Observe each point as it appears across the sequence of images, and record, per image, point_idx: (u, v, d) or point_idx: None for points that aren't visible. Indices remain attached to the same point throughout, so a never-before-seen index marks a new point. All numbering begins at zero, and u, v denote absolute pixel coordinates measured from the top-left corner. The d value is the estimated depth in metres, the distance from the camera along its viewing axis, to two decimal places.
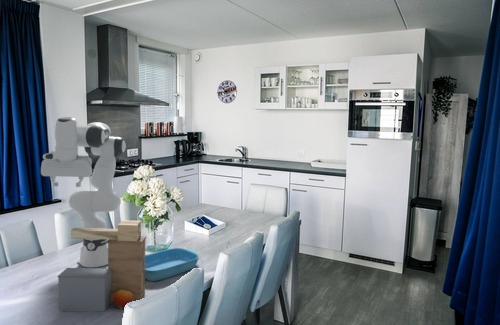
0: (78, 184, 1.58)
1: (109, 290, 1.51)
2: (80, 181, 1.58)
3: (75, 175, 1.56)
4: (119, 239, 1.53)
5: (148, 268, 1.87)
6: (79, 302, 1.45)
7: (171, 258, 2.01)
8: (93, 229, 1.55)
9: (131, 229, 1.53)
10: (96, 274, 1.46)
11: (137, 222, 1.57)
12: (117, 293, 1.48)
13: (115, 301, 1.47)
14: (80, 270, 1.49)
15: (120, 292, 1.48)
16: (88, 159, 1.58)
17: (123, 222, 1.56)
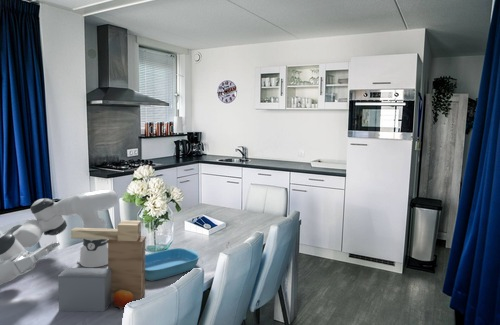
0: None
1: (109, 290, 1.51)
2: (53, 243, 1.61)
3: (45, 245, 1.59)
4: (119, 239, 1.53)
5: (148, 267, 1.88)
6: (79, 302, 1.45)
7: (173, 258, 2.01)
8: (93, 229, 1.55)
9: (131, 229, 1.53)
10: (96, 274, 1.46)
11: (137, 222, 1.57)
12: (117, 293, 1.48)
13: (115, 301, 1.47)
14: (80, 270, 1.49)
15: (120, 292, 1.48)
16: None
17: (123, 222, 1.56)
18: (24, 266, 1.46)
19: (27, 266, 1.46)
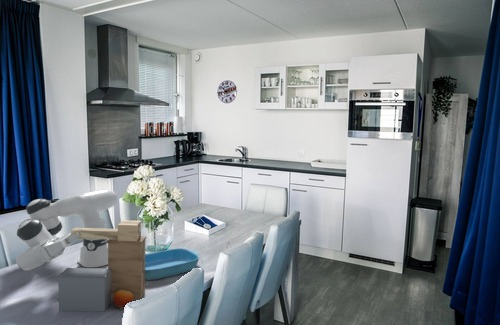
0: None
1: (109, 290, 1.51)
2: None
3: None
4: (119, 239, 1.53)
5: (148, 267, 1.89)
6: (79, 302, 1.45)
7: (174, 258, 2.01)
8: (93, 229, 1.55)
9: (131, 229, 1.53)
10: (96, 274, 1.46)
11: (137, 222, 1.57)
12: (117, 293, 1.48)
13: (115, 301, 1.47)
14: (80, 270, 1.49)
15: (120, 292, 1.48)
16: None
17: (123, 222, 1.56)
18: (55, 251, 1.46)
19: (58, 250, 1.46)
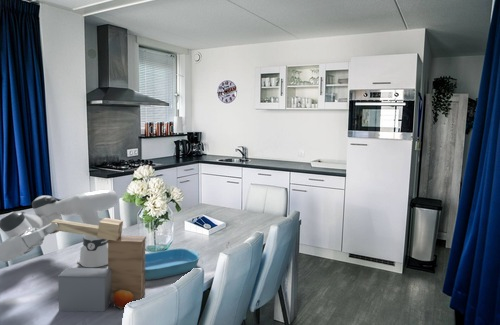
0: None
1: (109, 290, 1.51)
2: None
3: None
4: (99, 236, 1.52)
5: (148, 266, 1.89)
6: (79, 302, 1.45)
7: (175, 258, 2.01)
8: (73, 223, 1.54)
9: (112, 228, 1.52)
10: (96, 274, 1.46)
11: (119, 221, 1.56)
12: (117, 293, 1.48)
13: (115, 301, 1.47)
14: (80, 270, 1.49)
15: (120, 292, 1.48)
16: None
17: (105, 220, 1.55)
18: (32, 241, 1.45)
19: (35, 240, 1.45)
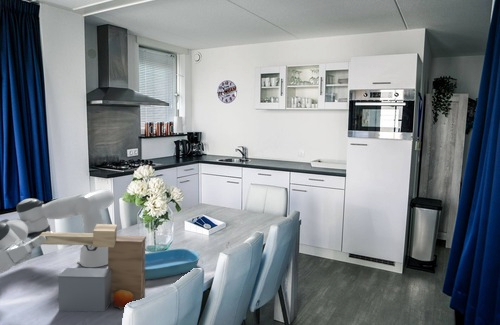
0: None
1: (109, 290, 1.51)
2: None
3: None
4: (94, 245, 1.45)
5: (149, 266, 1.90)
6: (79, 302, 1.45)
7: (176, 258, 2.01)
8: (64, 234, 1.45)
9: (108, 235, 1.45)
10: (96, 274, 1.46)
11: (113, 227, 1.49)
12: (117, 293, 1.48)
13: (115, 301, 1.47)
14: (80, 270, 1.49)
15: (120, 292, 1.48)
16: None
17: (98, 227, 1.47)
18: (18, 256, 1.34)
19: (21, 255, 1.34)
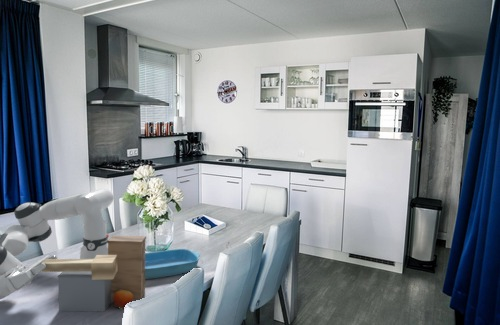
0: (52, 256, 1.50)
1: (109, 290, 1.51)
2: (50, 256, 1.50)
3: (42, 259, 1.49)
4: None
5: (149, 266, 1.90)
6: (79, 302, 1.45)
7: (178, 258, 2.01)
8: (64, 268, 1.43)
9: None
10: None
11: (110, 269, 1.41)
12: (117, 293, 1.48)
13: (115, 301, 1.47)
14: None
15: (120, 292, 1.48)
16: None
17: (95, 271, 1.41)
18: (20, 283, 1.36)
19: (23, 282, 1.36)
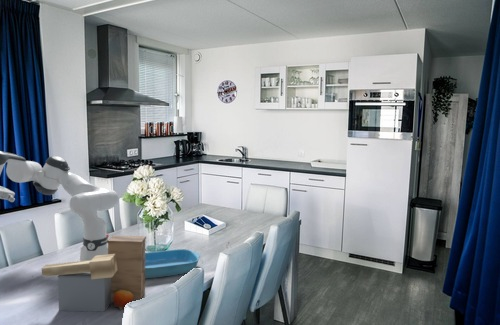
0: (12, 197, 1.53)
1: (109, 290, 1.51)
2: (12, 196, 1.55)
3: (5, 191, 1.54)
4: None
5: (150, 265, 1.91)
6: (79, 302, 1.45)
7: (179, 258, 2.01)
8: (64, 271, 1.44)
9: None
10: None
11: (108, 267, 1.41)
12: (117, 293, 1.48)
13: (115, 301, 1.47)
14: None
15: (120, 292, 1.48)
16: None
17: (93, 270, 1.41)
18: None
19: None
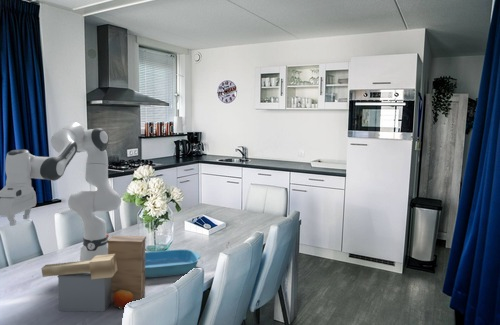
0: (28, 216, 1.55)
1: (109, 290, 1.51)
2: (29, 212, 1.56)
3: (29, 207, 1.54)
4: None
5: (150, 264, 1.92)
6: (79, 302, 1.45)
7: (180, 259, 2.00)
8: (64, 271, 1.44)
9: None
10: None
11: (108, 267, 1.41)
12: (117, 293, 1.48)
13: (115, 301, 1.47)
14: None
15: (120, 292, 1.48)
16: (32, 189, 1.58)
17: (93, 270, 1.41)
18: (1, 208, 1.39)
19: (0, 210, 1.39)
